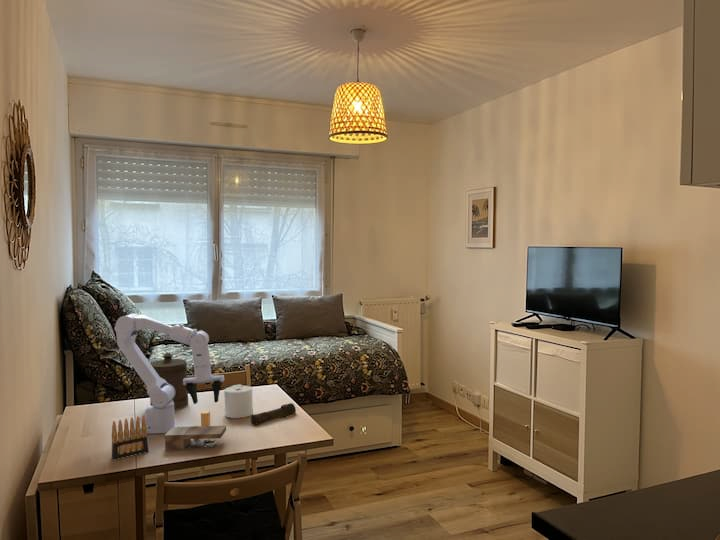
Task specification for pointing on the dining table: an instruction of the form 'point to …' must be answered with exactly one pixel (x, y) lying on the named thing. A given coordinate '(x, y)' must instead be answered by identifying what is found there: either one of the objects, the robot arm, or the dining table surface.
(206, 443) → the steel puck
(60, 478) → the dining table surface
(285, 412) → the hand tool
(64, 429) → the dining table surface
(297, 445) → the dining table surface
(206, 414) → the light wooden mallet
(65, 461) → the dining table surface
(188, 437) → the walnut l-shaped block
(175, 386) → the wooden container
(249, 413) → the toilet tissue
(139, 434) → the ammunition clip
